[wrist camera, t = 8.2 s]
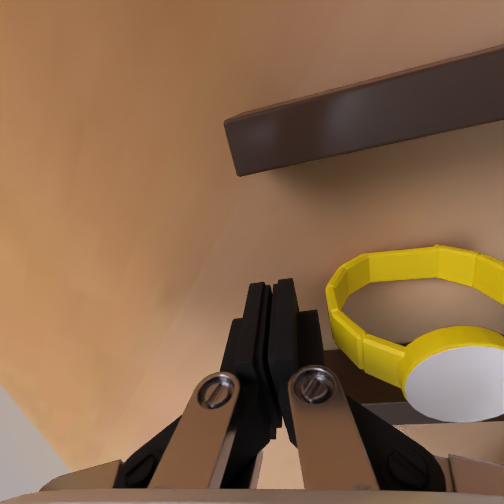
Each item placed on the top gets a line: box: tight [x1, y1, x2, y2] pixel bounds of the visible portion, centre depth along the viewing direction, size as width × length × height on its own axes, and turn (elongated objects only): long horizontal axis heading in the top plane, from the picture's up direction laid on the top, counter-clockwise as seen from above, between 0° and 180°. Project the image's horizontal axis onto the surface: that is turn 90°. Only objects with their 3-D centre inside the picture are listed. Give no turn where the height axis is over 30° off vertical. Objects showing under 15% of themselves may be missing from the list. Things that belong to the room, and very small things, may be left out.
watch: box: [325, 244, 504, 423], centre depth 10 cm, size 6×3×6 cm, turn 103°
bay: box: [224, 44, 504, 425], centre depth 11 cm, size 13×12×3 cm
